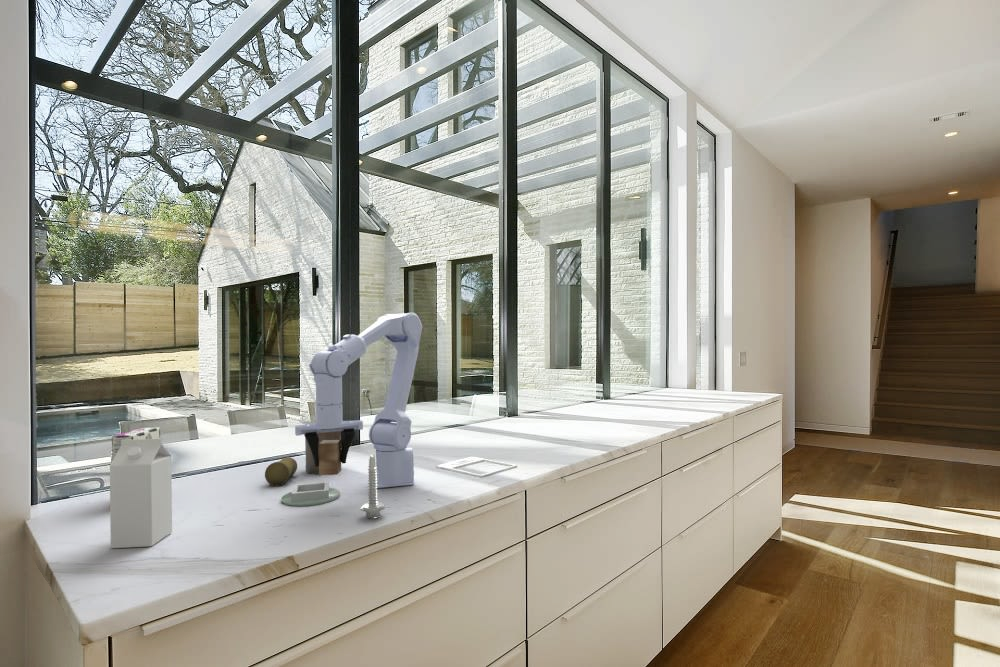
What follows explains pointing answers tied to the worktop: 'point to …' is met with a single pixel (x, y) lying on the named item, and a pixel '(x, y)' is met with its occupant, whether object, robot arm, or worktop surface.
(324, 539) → the worktop surface
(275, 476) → the olive cylinder
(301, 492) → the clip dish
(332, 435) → the pillar candle
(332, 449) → the brown tall block
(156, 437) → the candy bar box
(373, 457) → the screw
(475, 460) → the photo frame
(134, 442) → the milk carton
